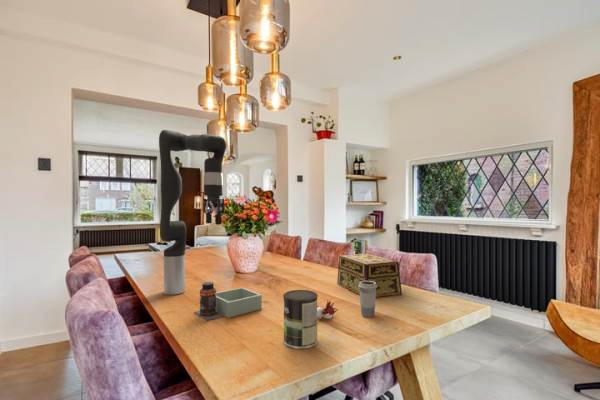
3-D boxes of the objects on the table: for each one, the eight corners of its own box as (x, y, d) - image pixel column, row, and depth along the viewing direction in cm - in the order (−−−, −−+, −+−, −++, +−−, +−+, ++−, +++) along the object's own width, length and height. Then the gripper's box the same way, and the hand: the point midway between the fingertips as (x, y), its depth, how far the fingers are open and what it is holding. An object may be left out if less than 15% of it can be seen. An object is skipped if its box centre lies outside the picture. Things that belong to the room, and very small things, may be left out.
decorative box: (402, 295, 144) (402, 261, 144) (366, 299, 137) (366, 264, 137) (368, 281, 169) (368, 252, 170) (336, 284, 163) (336, 255, 163)
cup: (366, 319, 113) (365, 285, 113) (354, 314, 119) (354, 281, 119) (381, 316, 116) (381, 283, 117) (369, 311, 122) (369, 279, 122)
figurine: (350, 319, 113) (350, 301, 113) (327, 328, 106) (327, 308, 106) (320, 309, 125) (320, 292, 125) (297, 316, 117) (297, 298, 117)
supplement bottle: (219, 311, 121) (219, 281, 121) (210, 317, 116) (210, 285, 116) (206, 310, 123) (206, 280, 123) (196, 315, 118) (196, 284, 118)
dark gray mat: (193, 313, 121) (193, 311, 121) (210, 309, 125) (210, 308, 125) (206, 321, 113) (206, 319, 113) (223, 316, 117) (223, 315, 117)
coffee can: (284, 350, 90) (283, 300, 91) (283, 335, 101) (282, 290, 101) (320, 348, 91) (320, 299, 91) (315, 333, 102) (315, 289, 102)
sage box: (210, 307, 127) (210, 294, 127) (242, 300, 136) (242, 287, 137) (228, 317, 116) (228, 302, 116) (261, 308, 125) (261, 294, 126)
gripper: (197, 184, 133) (197, 223, 133) (212, 183, 123) (212, 225, 123) (213, 185, 138) (214, 222, 138) (230, 183, 128) (230, 224, 128)
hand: (213, 223), depth 130 cm, fingers open, 8 cm apart
